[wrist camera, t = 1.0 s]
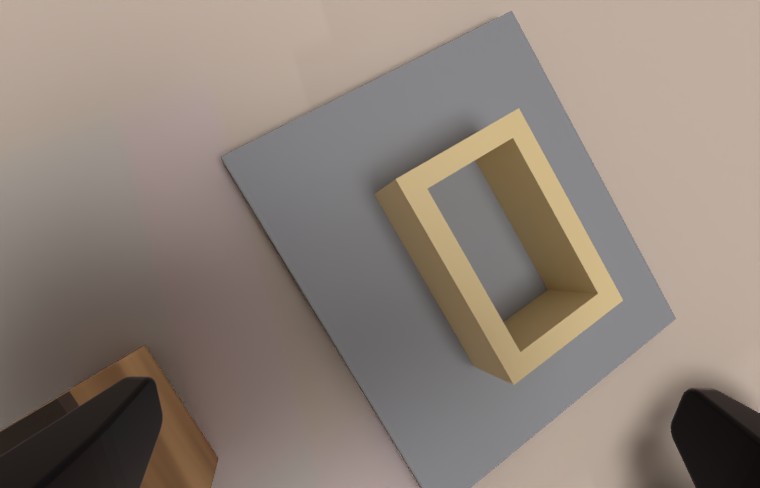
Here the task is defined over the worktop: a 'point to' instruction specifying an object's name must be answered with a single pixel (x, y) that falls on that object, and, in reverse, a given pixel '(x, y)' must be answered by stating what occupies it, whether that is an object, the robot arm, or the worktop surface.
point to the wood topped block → (176, 438)
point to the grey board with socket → (456, 249)
